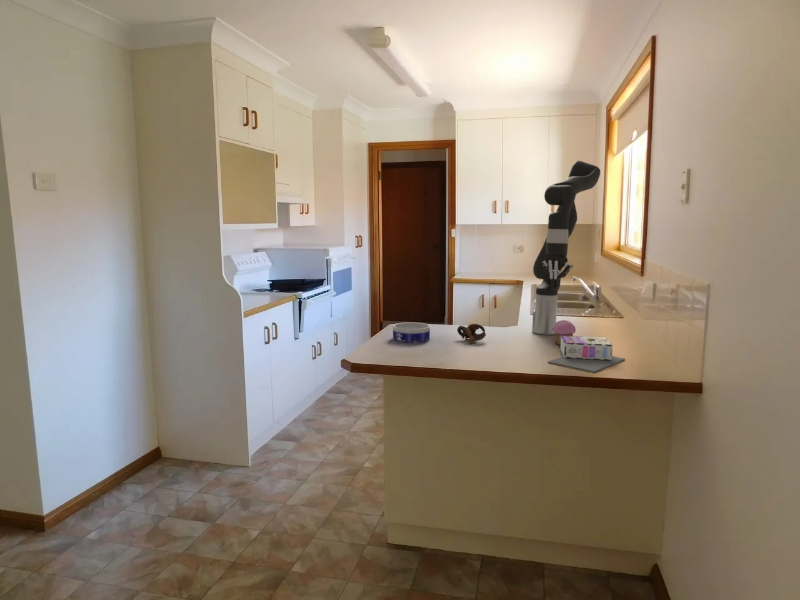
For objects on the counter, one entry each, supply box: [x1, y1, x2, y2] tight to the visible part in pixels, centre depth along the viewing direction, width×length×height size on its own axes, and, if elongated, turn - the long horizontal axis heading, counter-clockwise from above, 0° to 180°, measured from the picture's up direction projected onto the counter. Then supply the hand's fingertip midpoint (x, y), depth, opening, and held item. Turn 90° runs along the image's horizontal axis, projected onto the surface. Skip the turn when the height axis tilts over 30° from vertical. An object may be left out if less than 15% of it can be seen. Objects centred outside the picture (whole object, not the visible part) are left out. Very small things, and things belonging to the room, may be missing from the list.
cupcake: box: [552, 319, 577, 346], centre depth 220 cm, size 9×9×10 cm
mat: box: [547, 355, 626, 374], centre depth 195 cm, size 17×24×1 cm
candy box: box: [560, 335, 613, 360], centre depth 201 cm, size 14×6×16 cm
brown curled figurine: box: [456, 323, 487, 344], centre depth 225 cm, size 12×10×8 cm
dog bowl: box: [392, 322, 431, 344], centre depth 227 cm, size 15×15×6 cm
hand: (554, 289), depth 201 cm, fingers closed
